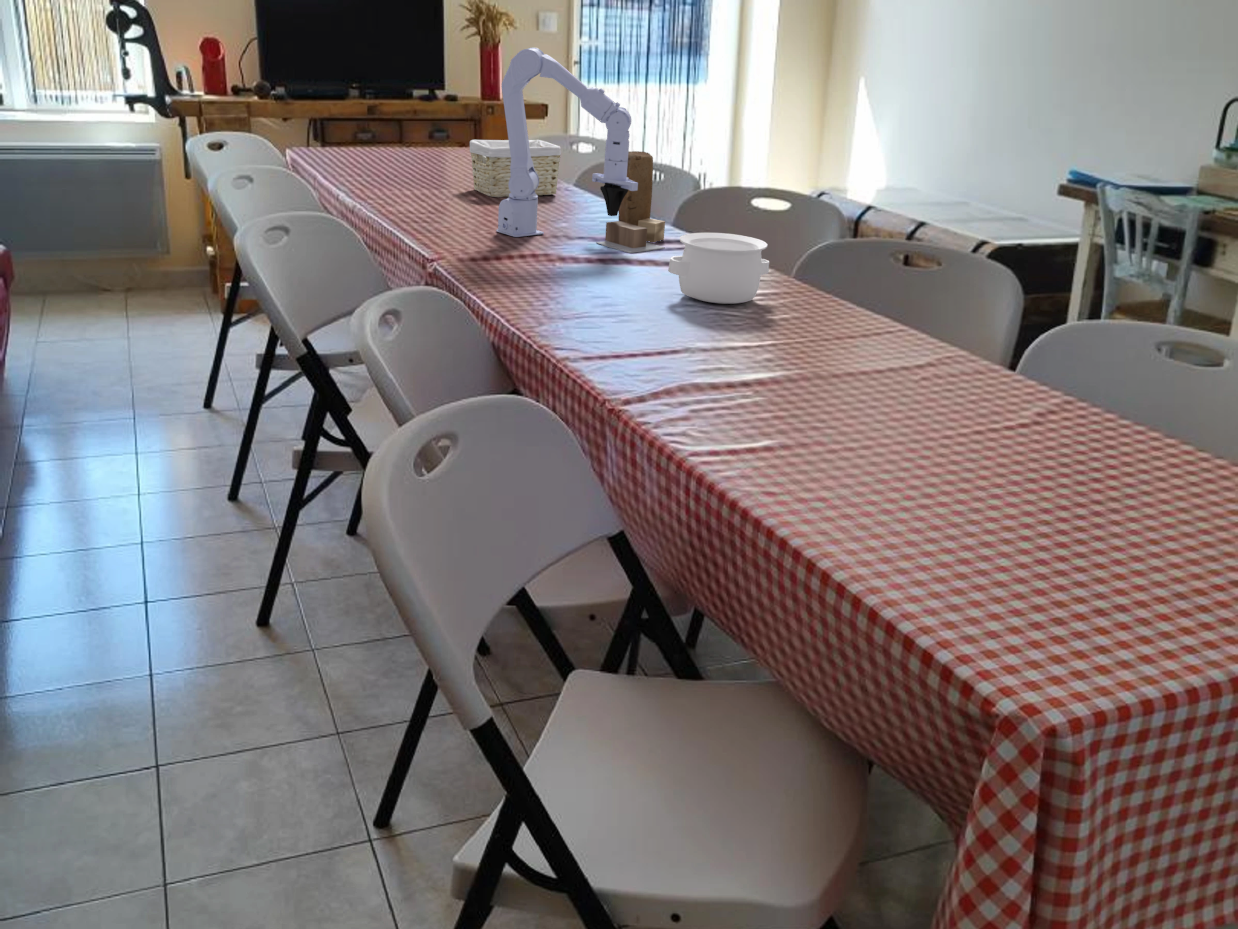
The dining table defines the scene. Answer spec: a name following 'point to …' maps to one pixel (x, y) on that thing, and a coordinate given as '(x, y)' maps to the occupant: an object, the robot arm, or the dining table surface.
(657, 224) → the oak cube
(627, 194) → the block
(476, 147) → the storage basket
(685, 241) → the pot
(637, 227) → the walnut pillar
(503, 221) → the robot arm
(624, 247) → the mat
